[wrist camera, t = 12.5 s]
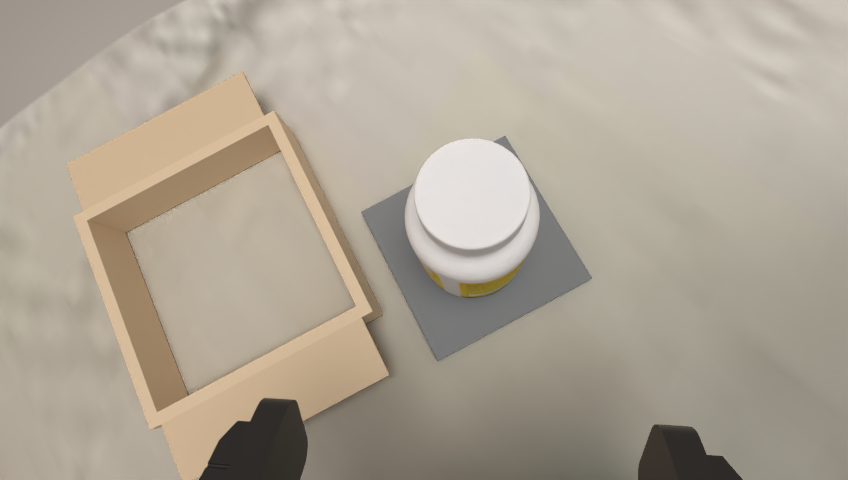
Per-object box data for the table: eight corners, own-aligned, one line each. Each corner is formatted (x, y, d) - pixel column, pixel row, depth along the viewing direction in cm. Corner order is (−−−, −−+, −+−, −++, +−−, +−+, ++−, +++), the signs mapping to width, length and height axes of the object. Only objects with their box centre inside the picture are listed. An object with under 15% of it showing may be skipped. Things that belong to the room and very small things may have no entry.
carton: (273, 93, 30) (252, 66, 27) (408, 365, 26) (400, 368, 23) (97, 186, 30) (56, 169, 27) (205, 474, 26) (172, 491, 23)
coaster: (504, 139, 28) (505, 135, 27) (589, 279, 26) (591, 278, 25) (363, 214, 28) (361, 212, 27) (438, 360, 26) (437, 361, 25)
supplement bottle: (538, 221, 26) (578, 152, 16) (498, 315, 25) (516, 300, 16) (445, 183, 27) (432, 97, 17) (404, 273, 26) (366, 234, 17)
